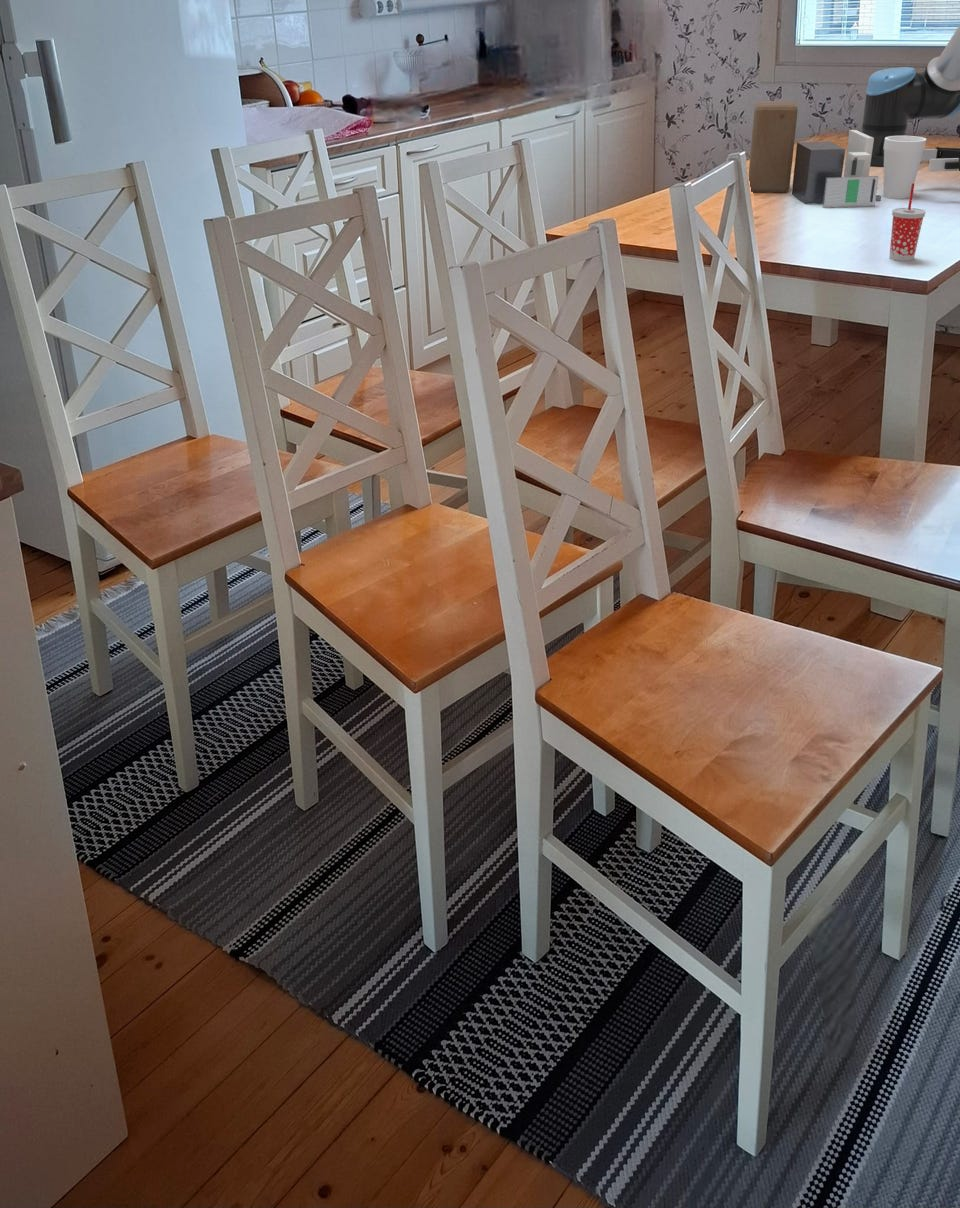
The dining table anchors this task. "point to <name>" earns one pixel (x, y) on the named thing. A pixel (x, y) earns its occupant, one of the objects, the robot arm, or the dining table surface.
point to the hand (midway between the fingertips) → (919, 160)
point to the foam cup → (901, 164)
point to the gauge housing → (829, 178)
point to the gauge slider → (858, 154)
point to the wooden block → (772, 146)
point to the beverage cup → (905, 231)
